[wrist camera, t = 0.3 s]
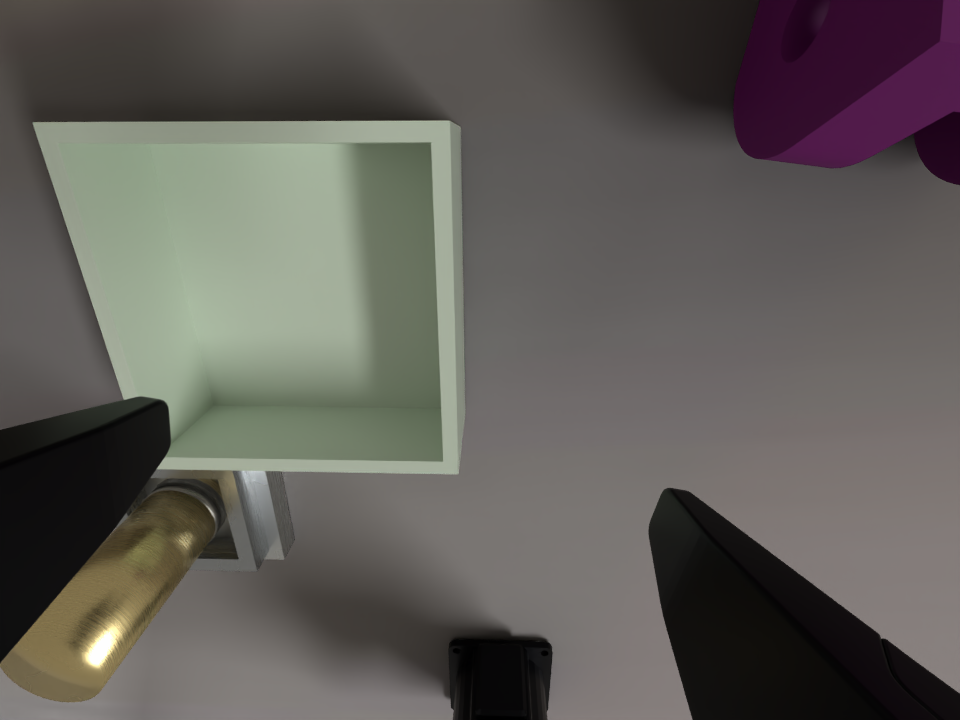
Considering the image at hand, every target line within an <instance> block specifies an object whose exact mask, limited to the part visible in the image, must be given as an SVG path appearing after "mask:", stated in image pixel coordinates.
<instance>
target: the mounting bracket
mask: <svg viewBox="0 0 960 720" xmlns="http://www.w3.org/2000/svg"><path fill="white" fill-rule="evenodd" d="M733 111H734V127H735V132H736V137H737V140H738V142H739V144H740V146H741V148H742V149H743V151H744V152H745V153H746V154H748V155H749V156H751V157H753V158H756V159H764V160H772V161H779V162H787V163H795V164H803V165H810V166H818V167H826V168H842V167H846V166H850V165H853V164H856V163H859V162H861V161H863V160H865V159H867V158H869V157H871V156H873V155H875V154H877V153H879V152H880V151H882V150H884V149H886V148H888V147H890V146H891V145H893V144H895V143H897V142H899V141H900V140H902V139H904V138H906V137H908V136H910V135H911V134H913V133H914V138H915V144H916V148H917V151H918V154H919V156H920V158H921V160H922V162H923V163H924V165H925V166H926V168H927V169H928V170H929V171H930V172H931V173H933V174H934V175H935V176H937V177H938V178H940V179H942V180H944V181H946V182H949V183H953V184H957V185H960V0H760V2H759V5H758V9H757V12H756V16H755V19H754V23H753V26H752V30H751V33H750V37H749V40H748V44H747V47H746V51H745V54H744V58H743V61H742V65H741V68H740V72H739V75H738V79H737V82H736V86H735V94H734V110H733Z"/></svg>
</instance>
